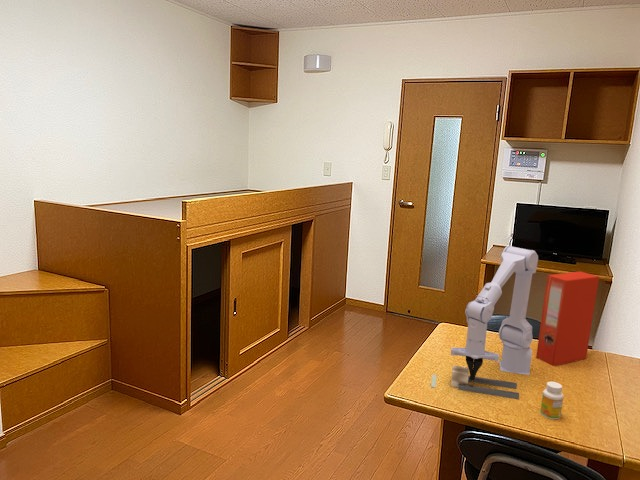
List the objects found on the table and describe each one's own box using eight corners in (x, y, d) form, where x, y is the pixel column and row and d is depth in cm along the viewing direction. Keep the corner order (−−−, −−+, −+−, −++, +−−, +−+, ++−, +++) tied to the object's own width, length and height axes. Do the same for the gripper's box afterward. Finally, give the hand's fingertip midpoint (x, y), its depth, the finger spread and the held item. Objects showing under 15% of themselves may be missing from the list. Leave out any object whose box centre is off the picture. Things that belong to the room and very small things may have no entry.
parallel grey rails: (515, 388, 158) (516, 382, 157) (518, 400, 150) (519, 394, 150) (458, 379, 162) (458, 374, 162) (458, 390, 155) (458, 384, 155)
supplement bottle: (536, 410, 145) (540, 380, 143) (553, 410, 145) (558, 380, 143) (546, 420, 140) (550, 389, 138) (564, 420, 140) (568, 389, 138)
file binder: (586, 359, 182) (599, 276, 176) (554, 366, 175) (566, 280, 169) (567, 350, 189) (579, 271, 183) (536, 357, 182) (546, 274, 176)
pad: (456, 378, 163) (456, 378, 163) (456, 391, 155) (456, 390, 155) (432, 374, 165) (432, 374, 165) (430, 387, 157) (430, 386, 157)
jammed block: (467, 381, 160) (468, 367, 159) (467, 388, 156) (468, 374, 155) (451, 379, 162) (452, 365, 161) (451, 386, 157) (452, 371, 156)
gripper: (452, 340, 153) (448, 380, 155) (501, 346, 149) (496, 387, 151) (452, 332, 159) (449, 370, 162) (499, 338, 155) (495, 377, 158)
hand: (472, 378), depth 157 cm, fingers closed
